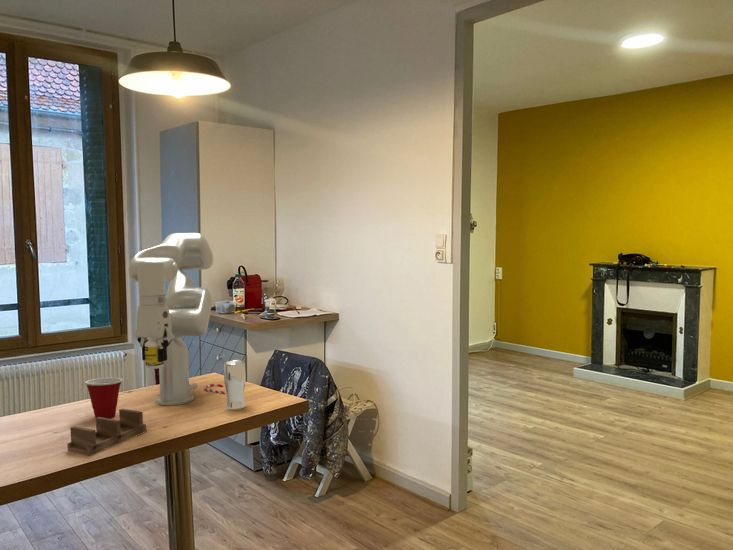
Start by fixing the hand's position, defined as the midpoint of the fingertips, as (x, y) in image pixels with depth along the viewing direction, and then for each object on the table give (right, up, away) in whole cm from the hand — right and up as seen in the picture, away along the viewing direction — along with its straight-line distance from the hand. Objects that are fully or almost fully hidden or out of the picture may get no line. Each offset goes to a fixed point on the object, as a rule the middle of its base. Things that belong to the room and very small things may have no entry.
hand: (154, 359), depth 179 cm
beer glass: (+21, -18, +16) cm, 32 cm away
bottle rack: (-8, -21, -14) cm, 26 cm away
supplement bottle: (0, -2, 0) cm, 2 cm away
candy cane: (+11, -17, +36) cm, 41 cm away
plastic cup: (-18, -19, +7) cm, 27 cm away
